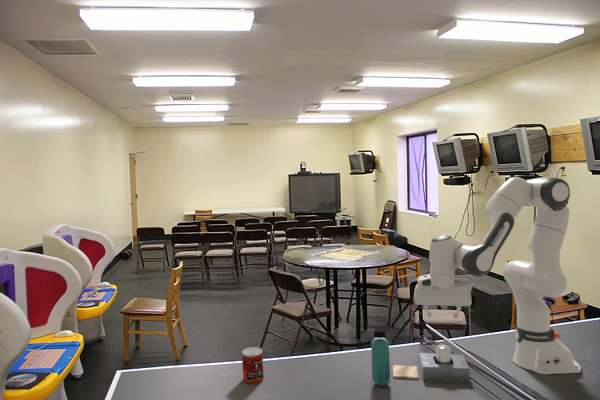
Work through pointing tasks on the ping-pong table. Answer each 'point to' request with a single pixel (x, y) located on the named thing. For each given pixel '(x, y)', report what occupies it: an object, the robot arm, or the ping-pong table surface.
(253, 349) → the canned food
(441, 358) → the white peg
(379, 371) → the beverage bottle
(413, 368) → the oak pad
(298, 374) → the ping-pong table surface
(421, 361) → the block
